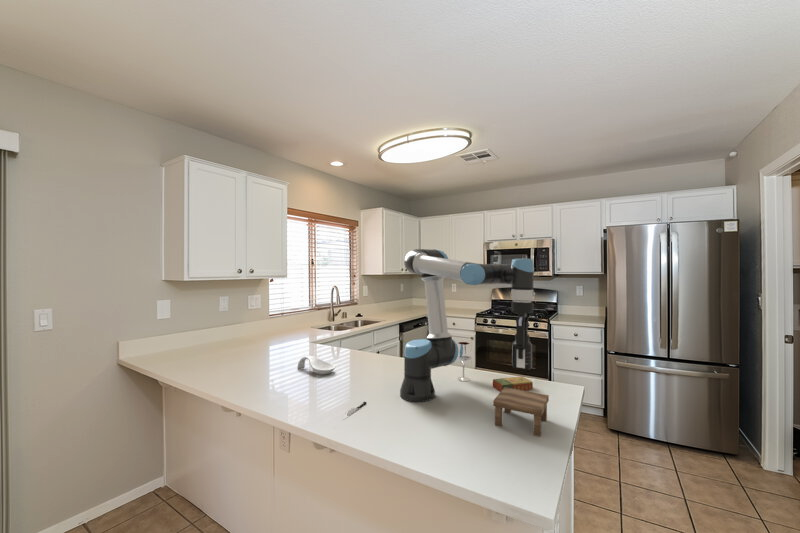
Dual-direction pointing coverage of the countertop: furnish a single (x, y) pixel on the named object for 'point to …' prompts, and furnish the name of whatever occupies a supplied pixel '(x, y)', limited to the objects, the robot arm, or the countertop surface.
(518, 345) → the robot arm
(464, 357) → the wineglass
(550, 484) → the countertop surface
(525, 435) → the countertop surface
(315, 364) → the spoon rest
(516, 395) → the footstool
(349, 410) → the chef's knife
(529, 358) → the supplement bottle
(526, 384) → the carton
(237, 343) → the countertop surface
